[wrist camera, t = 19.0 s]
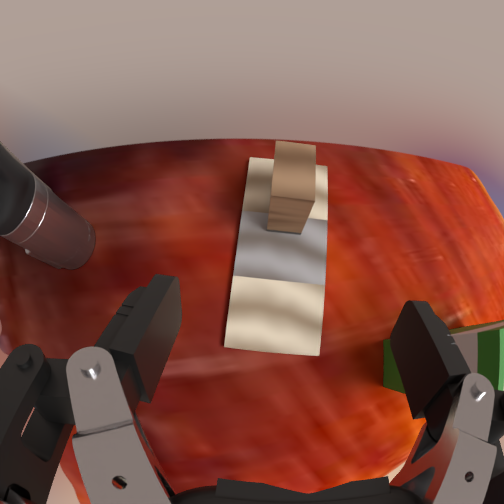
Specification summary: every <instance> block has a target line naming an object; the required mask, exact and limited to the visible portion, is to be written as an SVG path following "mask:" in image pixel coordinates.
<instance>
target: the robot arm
mask: <svg viewBox="0 0 504 504" xmlns="http://www.w3.org/2000/svg"><path fill="white" fill-rule="evenodd" d="M0 236H2V237H4V238H6V239H8V240H10V241H11V242H13V243H15V244H17V245H19V246H21V247H23V248H25V252H26V254H28V255H30V256H32V257H34V258H36V259H38V260H40V261H43V262H45V263H47V264H49V265H51V266H53V267H56V268H58V269H60V268H66V269H71V270H72V269H77V268H79V267H81V266H82V265H83V264H85V262H86V261H87V260H88V259H89V257H90V256H91V254H92V252H93V249H94V245H95V232H94V229H93V227H92V225H91V224H90V223H89V222H88V221H86V220H85V219H84V218H83V217H81V216H80V215H79V214H78V213H77V212H76V211H74V210H73V209H72V208H71V207H69V206H68V205H67V204H66V203H65V202H63V201H62V200H61V199H60V198H59V197H58V196H56V195H55V194H54V193H53V192H52V191H51V190H49V189H48V188H47V187H46V186H45V185H44V184H43V183H41V182H40V181H39V180H38V179H37V178H36V177H35V176H34V175H33V174H32V173H30V172H29V171H28V170H27V169H26V168H25V167H24V166H22V165H21V164H20V163H19V162H18V161H17V160H16V159H15V158H14V157H13V156H12V155H11V154H10V153H9V152H8V151H7V150H6V149H5V148H4V147H3V146H2V145H1V143H0ZM181 320H182V309H181V297H180V285H179V279H178V277H174V276H167V275H159V274H156V275H155V276H154V277H153V279H152V280H151V282H150V283H149V285H148V286H147V287H141V286H140V287H139V288H137V289H136V290H134V291H133V292H131V293H130V294H129V295H128V296H127V298H126V299H125V300H124V302H123V303H122V306H120V308H119V309H118V311H117V312H116V315H114V317H113V318H112V320H111V321H110V323H109V324H108V326H107V327H106V329H105V330H104V332H103V333H102V335H101V336H100V338H99V339H98V341H97V342H96V344H95V345H94V347H86V348H82V349H80V350H78V351H77V352H75V353H74V354H73V355H72V356H71V357H70V359H51V358H45V356H44V354H43V352H42V350H41V349H40V348H39V347H38V346H36V345H33V344H25V345H22V346H19V347H17V348H16V349H14V350H13V351H12V352H11V353H10V355H9V356H8V358H7V359H6V361H5V362H4V364H3V365H2V367H1V368H0V504H46V502H47V499H48V495H49V492H50V489H51V486H52V483H53V480H54V476H55V474H56V471H57V468H58V465H59V462H60V460H61V457H62V454H63V451H64V449H65V446H66V443H67V441H68V438H69V436H70V433H71V431H72V428H73V426H74V425H76V428H77V434H74V435H73V437H72V443H73V448H74V452H75V456H76V459H77V463H78V466H79V470H80V473H81V476H82V479H83V482H84V485H85V488H86V491H87V494H88V496H89V499H90V502H91V504H504V456H503V452H502V448H501V445H500V441H499V439H500V438H501V437H502V436H503V435H504V391H501V390H495V389H494V388H493V386H492V384H491V383H490V381H489V380H488V379H487V378H486V377H484V376H483V375H481V374H478V373H471V371H470V369H469V367H468V365H467V363H466V361H465V359H464V357H463V355H462V353H461V351H460V349H459V348H458V346H457V345H456V344H455V343H456V342H455V340H454V338H453V337H452V336H451V333H450V331H449V330H448V328H447V326H446V324H445V323H444V322H443V321H442V320H441V319H440V318H439V317H437V316H436V315H435V313H434V312H433V310H432V308H431V307H430V305H429V304H428V302H426V301H410V300H409V301H407V302H406V303H405V305H404V307H403V309H402V311H401V313H400V316H399V318H398V320H397V322H396V324H395V326H394V328H393V331H392V333H391V337H390V347H391V351H392V353H393V356H394V359H395V362H396V365H397V368H398V371H399V374H400V377H401V380H402V383H403V387H404V390H405V393H406V396H407V400H408V403H409V407H410V410H411V414H412V417H413V419H419V418H426V421H427V422H426V423H425V424H424V425H423V426H422V428H421V430H420V433H419V435H418V437H417V440H416V442H415V444H414V446H413V448H412V450H411V452H410V455H409V457H408V459H407V461H406V463H405V465H404V467H403V468H402V469H401V471H400V472H399V473H398V474H397V475H396V476H395V477H394V478H393V480H392V481H391V482H390V483H389V479H388V476H387V477H381V478H374V479H367V480H360V481H351V482H348V483H345V484H342V485H339V486H336V487H333V488H329V489H326V490H322V491H319V492H315V493H310V494H306V493H301V492H296V491H292V490H287V489H283V488H279V487H275V486H272V485H268V484H264V483H255V482H244V481H235V480H227V479H220V478H218V481H217V485H216V486H205V487H198V488H194V489H190V490H186V491H184V492H181V493H178V494H176V493H175V491H174V489H173V487H172V486H171V484H170V482H169V480H168V478H167V477H166V475H165V473H164V471H163V469H162V468H161V466H160V464H159V462H158V460H157V458H156V456H155V454H154V452H153V450H152V448H151V446H150V444H149V441H148V439H147V437H146V435H145V432H144V430H143V428H142V425H141V423H140V420H139V418H138V415H137V413H136V411H135V410H136V408H137V405H138V403H139V400H140V401H143V402H147V403H151V401H152V398H153V395H154V393H155V390H156V387H157V385H158V382H159V380H160V377H161V374H162V372H163V369H164V367H165V364H166V362H167V359H168V357H169V354H170V352H171V349H172V347H173V344H174V342H175V339H176V337H177V334H178V332H179V329H180V326H181ZM33 407H34V408H35V409H34V411H33V413H32V415H31V417H30V420H29V422H28V424H27V426H26V428H25V430H24V432H23V435H22V437H21V433H22V430H23V428H24V425H25V423H26V421H27V419H28V417H29V415H30V413H31V411H32V409H33Z"/></svg>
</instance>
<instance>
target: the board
mask: <svg viewBox="0 0 504 504" xmlns="http://www.w3.org/2000/svg"><path fill="white" fill-rule="evenodd" d="M273 166H274V160H273V159H263V158H252V157H250V161H249V167H248V174H247V181H246V188H245V195H244V201H243V208H242V215H241V222H240V230H239V237H238V244H237V251H236V259H235V266H234V273H233V281H232V288H231V296H230V303H229V311H228V319H227V327H226V335H225V343H224V347H228V348H236V349H244V350H253V351H262V352H273V353H284V354H297V355H312V356H319V352H320V342H321V332H322V320H323V308H324V293H325V275H326V253H327V209H328V186H327V166H321V165H316V186H315V203H314V205H313V207H312V210H311V212H310V214H309V217H308V219H307V221H306V224H305V226H304V228H303V231H302V233H301V235H295V234H286V233H278V232H268V231H267V224H268V214H269V205H270V195H271V185H272V175H273Z"/></svg>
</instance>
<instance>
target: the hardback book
mask: <svg viewBox="0 0 504 504" xmlns="http://www.w3.org/2000/svg"><path fill="white" fill-rule="evenodd" d="M449 331H450V333H451V336H452V337H453V338H454V340H455V342H456V343H455V344H456V345H457V346H458V348H459V349H460V351H461V353H462V355H463V357H464V359H465V361H466V363H467V365H468V367H469V369H470V371H471V373H478V374H481V375H483V376H484V377H486V378H487V379H488V380H489V381H490V383H491V384H492V386H493V388H494V389H495V390H501V391H504V320H501V321H496V322H490V323H485V324H479V325H472V326H466V327H460V328H455V329H450V330H449ZM383 347H384V376H383V387H385V388H389V389H392V390H395V391H398V392H401V393H405V390H404V387H403V383H402V380H401V377H400V374H399V371H398V368H397V365H396V362H395V359H394V356H393V353H392V351H391V347H390V339H385V340H383ZM405 394H406V393H405Z"/></svg>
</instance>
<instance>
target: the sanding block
mask: <svg viewBox="0 0 504 504" xmlns="http://www.w3.org/2000/svg"><path fill="white" fill-rule="evenodd" d="M315 186H316V146H314V145H307V144H300V143H292V142H283V141H276V147H275V156H274V166H273V175H272V185H271V195H270V205H269V214H268V224H267V231H268V232H278V233H286V234H295V235H301V233H302V231H303V228H304V226H305V224H306V221H307V219H308V217H309V214H310V212H311V210H312V207H313V205H314V203H315Z"/></svg>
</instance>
